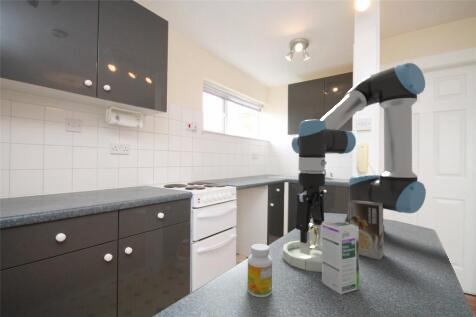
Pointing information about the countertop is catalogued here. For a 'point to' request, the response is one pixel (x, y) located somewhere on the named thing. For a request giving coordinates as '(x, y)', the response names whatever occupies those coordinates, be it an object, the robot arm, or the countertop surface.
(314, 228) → the ring
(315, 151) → the robot arm
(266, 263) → the supplement bottle
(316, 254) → the ring dish
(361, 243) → the coffee box
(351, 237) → the syrup box
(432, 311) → the countertop surface
